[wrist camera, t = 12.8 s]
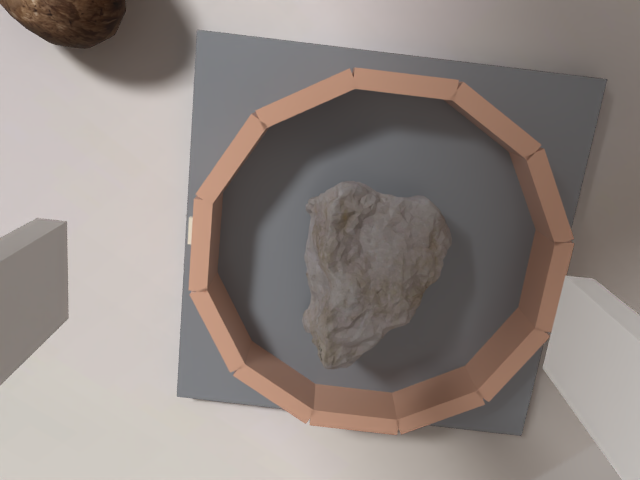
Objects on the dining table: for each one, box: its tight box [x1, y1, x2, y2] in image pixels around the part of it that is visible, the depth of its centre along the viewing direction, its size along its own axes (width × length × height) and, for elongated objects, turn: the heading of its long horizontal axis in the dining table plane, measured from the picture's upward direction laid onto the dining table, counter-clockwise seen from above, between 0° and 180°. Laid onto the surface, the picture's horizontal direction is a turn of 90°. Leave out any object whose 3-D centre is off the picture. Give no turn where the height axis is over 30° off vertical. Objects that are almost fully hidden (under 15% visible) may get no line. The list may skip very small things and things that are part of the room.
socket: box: [177, 30, 607, 436], centre depth 33 cm, size 22×22×4 cm
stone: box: [302, 181, 452, 370], centre depth 31 cm, size 10×8×6 cm
